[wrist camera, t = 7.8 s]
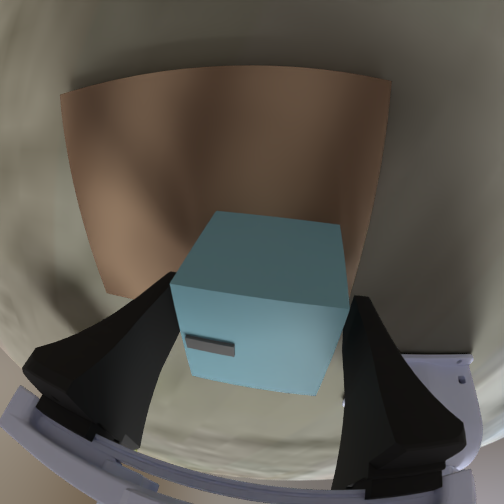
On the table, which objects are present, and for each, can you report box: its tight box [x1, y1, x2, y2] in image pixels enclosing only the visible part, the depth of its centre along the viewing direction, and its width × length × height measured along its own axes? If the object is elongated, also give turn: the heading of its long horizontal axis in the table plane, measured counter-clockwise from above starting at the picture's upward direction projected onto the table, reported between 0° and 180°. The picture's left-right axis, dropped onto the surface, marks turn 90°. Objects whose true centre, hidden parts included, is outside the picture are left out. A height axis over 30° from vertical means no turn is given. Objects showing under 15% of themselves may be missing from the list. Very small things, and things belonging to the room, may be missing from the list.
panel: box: [60, 65, 391, 299], centre depth 13 cm, size 15×13×1 cm
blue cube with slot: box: [170, 211, 350, 396], centre depth 12 cm, size 5×5×5 cm
